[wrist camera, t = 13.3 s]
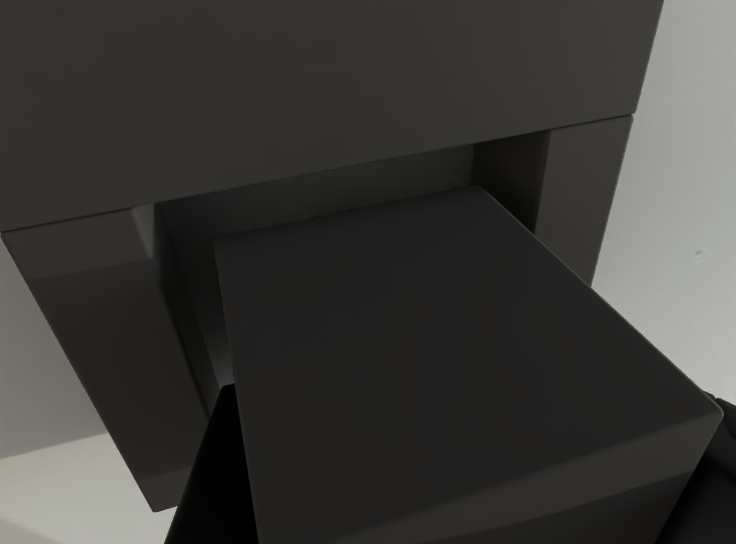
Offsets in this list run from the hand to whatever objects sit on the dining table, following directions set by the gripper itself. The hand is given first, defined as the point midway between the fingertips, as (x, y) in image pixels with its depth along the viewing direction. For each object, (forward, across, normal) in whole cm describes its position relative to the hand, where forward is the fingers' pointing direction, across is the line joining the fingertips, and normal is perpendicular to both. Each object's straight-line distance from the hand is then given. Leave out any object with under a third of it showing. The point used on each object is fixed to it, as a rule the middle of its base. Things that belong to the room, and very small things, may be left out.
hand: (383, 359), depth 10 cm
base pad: (+3, 0, -17) cm, 18 cm away
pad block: (+1, 0, 0) cm, 1 cm away
